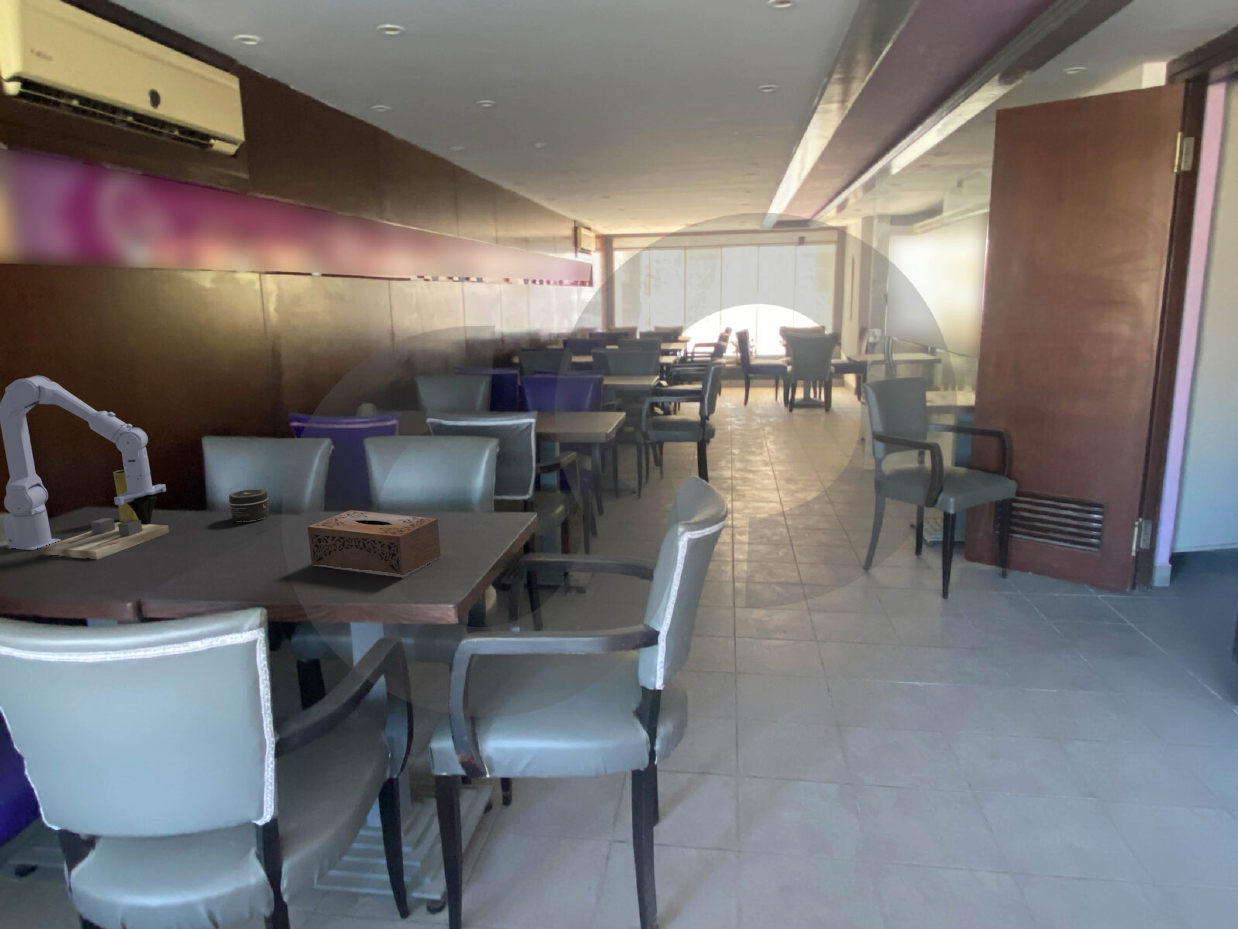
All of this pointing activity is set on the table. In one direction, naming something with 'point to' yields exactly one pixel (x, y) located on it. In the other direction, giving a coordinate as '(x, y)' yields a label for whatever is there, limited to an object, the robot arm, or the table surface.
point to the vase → (121, 488)
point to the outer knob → (130, 527)
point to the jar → (249, 505)
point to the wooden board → (103, 542)
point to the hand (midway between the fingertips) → (145, 523)
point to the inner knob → (103, 525)
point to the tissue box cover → (374, 541)
